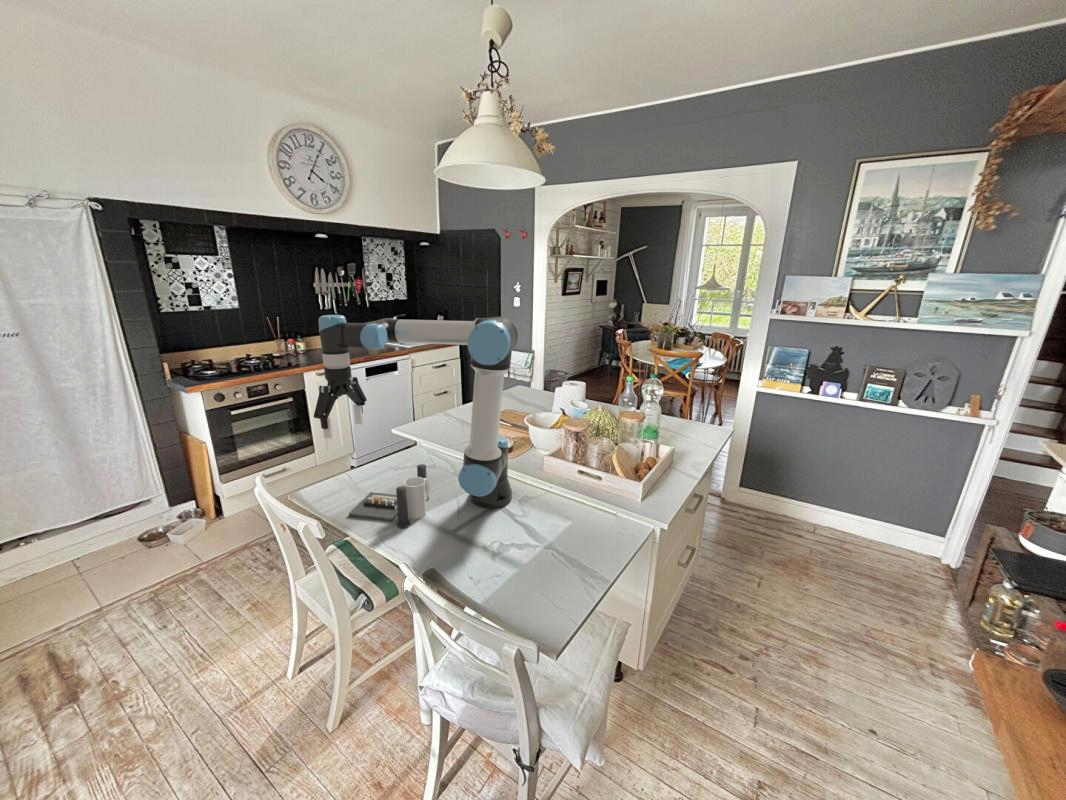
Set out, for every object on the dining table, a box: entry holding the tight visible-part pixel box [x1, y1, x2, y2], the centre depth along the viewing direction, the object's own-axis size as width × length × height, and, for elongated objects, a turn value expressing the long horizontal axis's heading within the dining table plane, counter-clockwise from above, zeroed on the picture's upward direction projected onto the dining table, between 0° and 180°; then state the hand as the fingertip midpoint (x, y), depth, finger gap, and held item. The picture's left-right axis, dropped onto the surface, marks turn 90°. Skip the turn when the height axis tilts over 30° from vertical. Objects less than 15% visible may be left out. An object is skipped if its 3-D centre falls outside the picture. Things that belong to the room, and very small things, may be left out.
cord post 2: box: [416, 463, 430, 502], centre depth 146 cm, size 4×4×13 cm
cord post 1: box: [395, 485, 411, 529], centre depth 131 cm, size 4×4×13 cm
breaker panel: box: [348, 491, 398, 523], centre depth 142 cm, size 15×14×3 cm
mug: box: [403, 476, 430, 520], centre depth 139 cm, size 10×7×12 cm, turn 152°
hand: (344, 430), depth 136 cm, fingers open, 13 cm apart
